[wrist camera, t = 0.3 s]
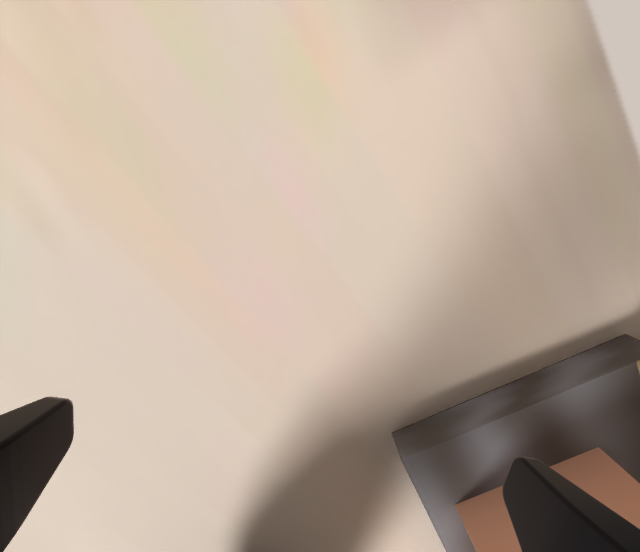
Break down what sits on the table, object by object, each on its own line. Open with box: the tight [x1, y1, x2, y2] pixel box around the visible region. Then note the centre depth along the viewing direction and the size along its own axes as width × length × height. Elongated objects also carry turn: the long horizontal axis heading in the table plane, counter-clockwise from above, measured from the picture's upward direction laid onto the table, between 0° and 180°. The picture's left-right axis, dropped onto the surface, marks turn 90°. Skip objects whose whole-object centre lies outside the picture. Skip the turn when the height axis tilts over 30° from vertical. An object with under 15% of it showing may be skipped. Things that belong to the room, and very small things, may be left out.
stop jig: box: [392, 334, 640, 552], centre depth 22 cm, size 17×18×10 cm
